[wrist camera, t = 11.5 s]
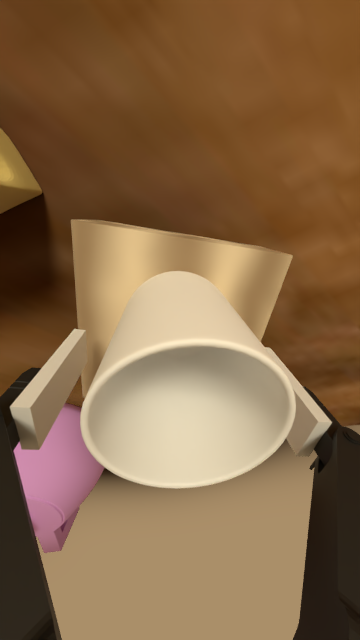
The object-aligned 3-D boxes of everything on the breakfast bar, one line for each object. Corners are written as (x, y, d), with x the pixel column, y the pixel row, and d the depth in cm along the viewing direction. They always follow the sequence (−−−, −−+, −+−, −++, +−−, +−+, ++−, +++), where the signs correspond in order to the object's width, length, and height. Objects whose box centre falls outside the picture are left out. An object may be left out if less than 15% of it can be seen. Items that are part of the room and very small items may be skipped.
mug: (235, 376, 20) (295, 505, 11) (156, 395, 21) (149, 535, 12) (217, 255, 15) (300, 310, 6) (110, 283, 16) (31, 376, 6)
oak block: (99, 360, 26) (82, 397, 20) (97, 219, 19) (70, 219, 14) (222, 370, 28) (236, 406, 22) (259, 246, 21) (293, 255, 16)
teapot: (129, 465, 36) (114, 571, 25) (41, 479, 36) (-12, 591, 25) (85, 366, 26) (29, 469, 15) (-35, 385, 26) (-176, 502, 15)
